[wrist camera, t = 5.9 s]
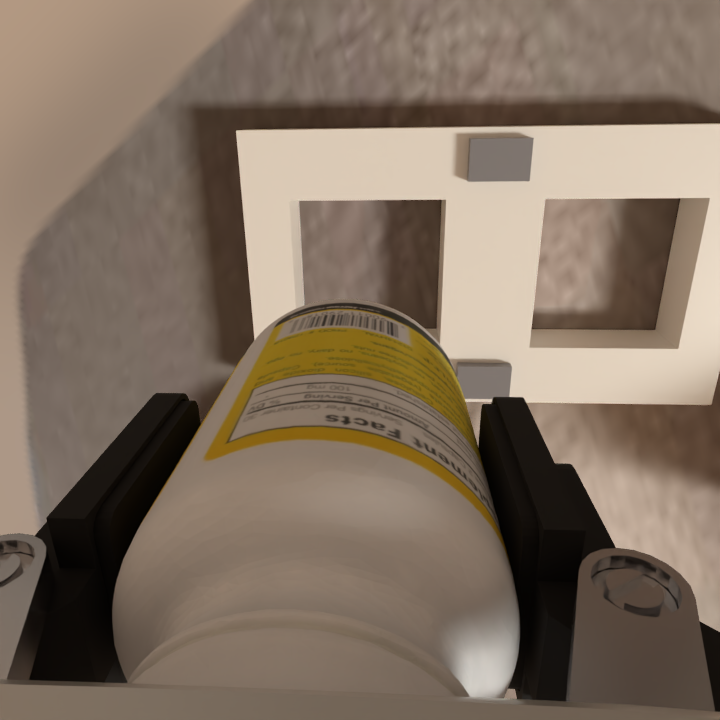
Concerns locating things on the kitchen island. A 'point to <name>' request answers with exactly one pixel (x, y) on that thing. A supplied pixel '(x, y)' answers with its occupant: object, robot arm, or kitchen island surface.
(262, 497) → the supplement bottle
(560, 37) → the kitchen island surface
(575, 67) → the kitchen island surface
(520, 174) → the socket plate
